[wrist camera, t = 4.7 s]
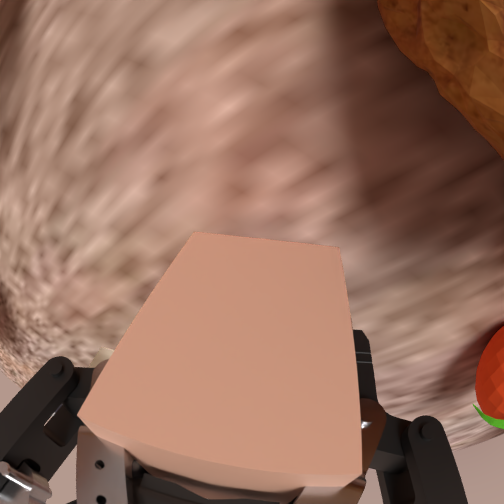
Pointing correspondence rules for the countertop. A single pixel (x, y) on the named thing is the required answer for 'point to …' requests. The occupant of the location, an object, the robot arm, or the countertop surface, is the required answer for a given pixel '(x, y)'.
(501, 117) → the clay tablet
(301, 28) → the countertop surface
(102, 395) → the terracotta block
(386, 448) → the robot arm
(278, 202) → the countertop surface
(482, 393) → the clementine
